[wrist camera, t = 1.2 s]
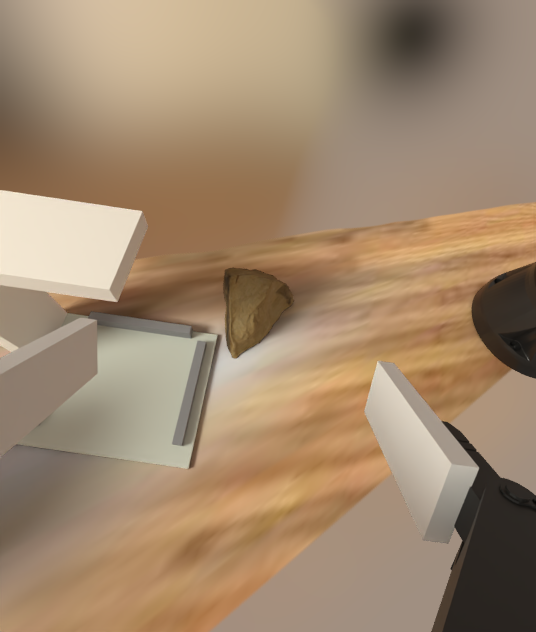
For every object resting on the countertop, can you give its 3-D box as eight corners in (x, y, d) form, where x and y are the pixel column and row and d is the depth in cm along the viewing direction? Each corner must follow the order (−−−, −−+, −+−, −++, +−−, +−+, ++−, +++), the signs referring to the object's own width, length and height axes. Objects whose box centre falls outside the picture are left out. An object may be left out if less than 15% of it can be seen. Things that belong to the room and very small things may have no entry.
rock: (287, 263, 43) (213, 268, 40) (316, 261, 35) (226, 268, 32) (292, 341, 45) (221, 351, 42) (320, 357, 37) (235, 371, 34)
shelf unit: (217, 336, 40) (199, 219, 22) (188, 468, 33) (129, 450, 15) (49, 311, 40) (-103, 174, 22) (-16, 439, 33) (-312, 387, 15)
